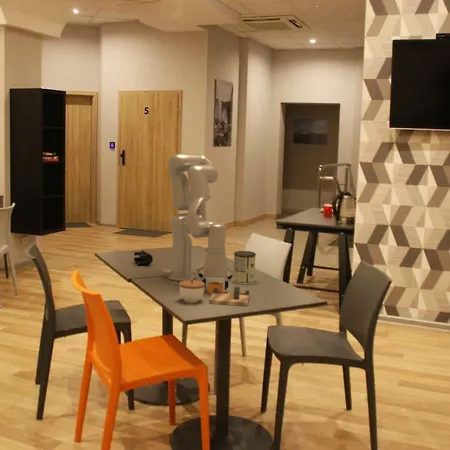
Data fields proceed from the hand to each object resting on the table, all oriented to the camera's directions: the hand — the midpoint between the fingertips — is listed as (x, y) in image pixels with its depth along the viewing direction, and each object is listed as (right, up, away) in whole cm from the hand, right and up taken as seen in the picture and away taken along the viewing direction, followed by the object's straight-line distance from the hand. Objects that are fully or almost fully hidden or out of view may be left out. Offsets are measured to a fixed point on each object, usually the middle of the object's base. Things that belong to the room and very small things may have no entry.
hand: (215, 288), depth 285 cm
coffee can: (+13, +1, +22) cm, 26 cm away
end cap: (-39, +7, +50) cm, 64 cm away
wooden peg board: (+6, -4, -12) cm, 15 cm away
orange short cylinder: (0, -2, 0) cm, 2 cm away
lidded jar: (-10, -4, -15) cm, 19 cm away
